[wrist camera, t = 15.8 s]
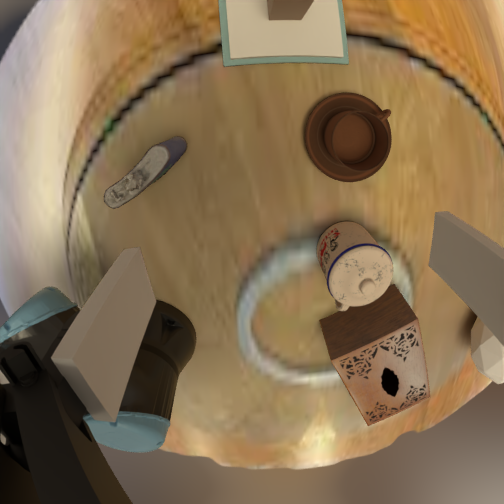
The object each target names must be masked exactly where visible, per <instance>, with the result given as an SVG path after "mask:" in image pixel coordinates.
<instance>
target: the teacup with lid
mask: <svg viewBox="0 0 504 504" xmlns="http://www.w3.org/2000/svg"><path fill="white" fill-rule="evenodd" d="M317 257H318V260H319V263H320V265H321V267H322V270H323V272H324V275H325V277H326V280H327V286H328V289H329V292H330V293H331V295H332V296H333V297H334V298H335V304H336V307H337V309H338V310H339V311H346V310H347V309H348V308H349V306H363V305H366V304H369V303H371V302H373V301H375V300H376V299H378V298H379V297H380V296H381V295H382V294H383V293H384V292H385V291H386V290H387V288H388V287H389V285H390V283H391V280H392V276H393V263H392V260H391V257H390V255H389V254H388V253H387V251H386V250H385V249H383V248H382V247H380V246H379V245H378V243H377V242H376V241H375V240H374V239H373V238H372V236H371V235H370V234H369V233H368V232H367V231H366V229H365V228H364V227H362V226H361V225H359V224H357V223H355V222H347V221H346V222H340V223H337V224H334V225H332V226H331V227H329V228H328V229H327V230H326V231H325V232H324V233H323V234H322V236H321V237H320V239H319V241H318V244H317Z"/></svg>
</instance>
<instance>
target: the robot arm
mask: <svg viewBox="0 0 504 504" xmlns="http://www.w3.org/2000/svg"><path fill="white" fill-rule="evenodd" d="M429 266H430V267H431V268H432V269H433V270H434V271H435V272H436V273H437V274H438V275H439V276H440V277H441V278H442V279H443V280H444V281H445V282H446V283H447V284H448V285H449V286H450V287H451V288H452V289H453V290H454V291H455V293H456V294H457V295H458V296H459V297H460V298H461V299H462V300H463V301H464V302H465V303H466V304H467V305H468V306H469V307H470V308H471V310H472V311H473V312H474V313H475V314H476V315H477V316H478V317H479V318H480V320H481V321H482V322H483V323H484V324H485V325H486V326H487V327H488V329H489V330H490V331H491V332H492V333H493V334H494V336H495V337H496V338H497V339H498V340H499V342H500V343H501V344H502V345H503V346H504V248H503V247H501V246H500V245H499V244H497V243H496V242H494V241H493V240H491V239H490V238H488V237H487V236H486V235H484V234H483V233H481V232H480V231H478V230H477V229H475V228H473V227H472V226H470V225H469V224H467V223H466V222H464V221H463V220H461V219H459V218H458V217H456V216H454V215H453V214H451V213H450V212H448V211H444V212H435V221H434V230H433V238H432V246H431V253H430V259H429ZM195 344H196V333H195V330H194V327H193V325H192V324H191V322H190V321H189V319H188V318H187V317H186V316H185V315H184V314H183V313H182V312H180V311H179V310H177V309H176V308H174V307H173V306H171V305H169V304H166V303H164V302H161V301H157V300H156V299H155V296H154V293H153V289H152V286H151V283H150V280H149V277H148V273H147V270H146V267H145V263H144V260H143V256H142V253H141V249H140V247H136V248H129V249H124V250H123V251H122V252H121V254H120V255H119V256H118V258H117V259H116V260H115V262H114V263H113V265H112V266H111V267H110V269H109V270H108V271H107V273H106V274H105V276H104V277H103V278H102V280H101V281H100V283H99V284H98V285H97V287H96V288H95V290H94V291H93V293H92V294H91V296H90V297H89V299H88V300H87V301H86V303H85V304H84V306H83V307H82V309H81V310H80V309H79V308H78V307H77V304H75V303H73V302H71V301H70V300H69V299H68V298H67V297H66V296H65V295H64V294H63V293H62V292H61V291H60V290H59V289H57V288H55V287H46V288H44V289H42V290H41V291H39V292H38V293H37V294H35V295H34V296H33V297H32V298H30V299H29V300H28V301H27V302H26V303H25V304H23V305H22V306H21V307H20V308H19V309H18V310H17V311H16V312H15V313H14V314H13V315H12V316H11V317H10V318H9V319H8V321H6V322H5V323H4V325H2V326H1V327H0V504H133V503H132V502H131V500H130V499H129V497H128V496H127V494H126V493H125V491H124V490H123V488H122V487H121V485H120V483H119V482H118V480H117V478H116V477H115V475H114V473H113V472H112V470H111V468H110V466H109V465H108V463H107V461H106V459H105V457H104V456H103V454H102V452H101V450H100V448H99V446H98V444H97V443H96V441H97V442H99V443H101V444H103V445H105V446H108V447H111V448H115V449H119V450H122V451H128V452H149V451H153V450H156V449H158V448H159V447H161V446H162V445H163V443H164V441H165V438H166V434H167V431H168V428H169V426H170V418H171V412H172V407H173V401H174V396H175V391H176V386H177V380H178V376H179V374H180V372H181V371H182V370H183V368H184V367H185V366H186V364H187V363H188V361H189V360H190V359H191V357H192V355H193V353H194V349H195Z"/></svg>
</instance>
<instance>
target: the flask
mask: <svg viewBox="0 0 504 504" xmlns="http://www.w3.org/2000/svg"><path fill="white" fill-rule="evenodd" d="M186 147H187V144H186V141H185V140H184V139H183V138H182V137H178V136H177V137H173V138H171V139H169V140H167V141H165V142H162V143H159V144H156V145H154V146H152V147H151V148H150V149H149V150H148V151H147V152H146V154H145V155H144V157H143V158H142V159H141V160H140V162H139V163H138V164H137V165H136V166H135V167H134V168H133V169H132V170H131V171H130V172H129V173H128V174H127V175H126V176H124V177H123V178H122V179H121V180H120V181H118V182H117V183H115V184H114V185H112V186H111V187H109V188H108V189H107V190H106V191H105V193H104V202H105V203H106V204H107V205H108V206H109V207H111V208H113V209H114V208H119V207H120V206H122V205H124V204H125V203H127V202H129V201H130V200H132V199H133V198H135V197H136V196H138V195H139V194H140V193H141V192H142V191H144V190H145V189H146V188H147V187H148V186H149V185H151V184H152V183H154V182H155V181H156V180H158V179H159V178H161V177H162V176H163V175H164V174H166V172H167V171H168V170H169V169H170V168H171V167H172V166H173V165H174V164H175V163H176V162H177V161H178V160H179V159H180V157H181V156H182V155H183V154H184V152H185V150H186Z"/></svg>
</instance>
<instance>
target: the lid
mask: <svg viewBox="0 0 504 504" xmlns="http://www.w3.org/2000/svg"><path fill="white" fill-rule="evenodd" d="M226 9H227V21H228V33H229V45H230V57H231V60H237V59H249V58H267V57H326V58H343V57H344V55H343V44H342V35H341V26H340V18H339V10H338V3H337V0H226Z"/></svg>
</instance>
